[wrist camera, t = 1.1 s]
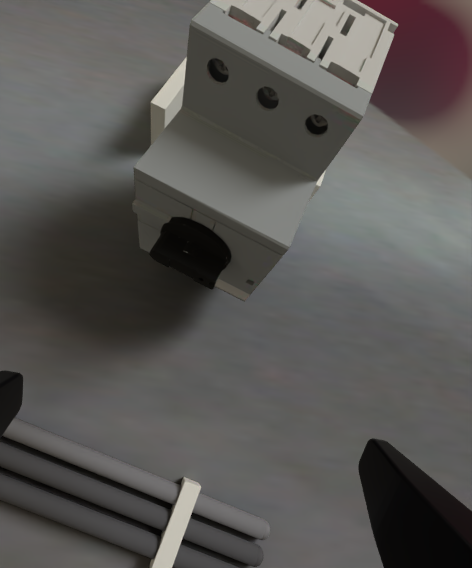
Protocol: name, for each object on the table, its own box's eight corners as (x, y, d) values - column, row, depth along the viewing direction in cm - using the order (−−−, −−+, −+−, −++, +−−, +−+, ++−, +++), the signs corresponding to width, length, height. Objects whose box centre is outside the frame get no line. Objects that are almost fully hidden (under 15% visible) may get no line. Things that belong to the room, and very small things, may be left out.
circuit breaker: (129, 290, 23) (95, 115, 9) (213, 162, 29) (266, -55, 15) (221, 337, 23) (318, 234, 10) (285, 201, 29) (399, 21, 16)
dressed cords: (247, 601, 18) (253, 613, 17) (-155, 446, 16) (-177, 448, 15) (271, 512, 20) (278, 518, 19) (-87, 365, 18) (-103, 362, 17)
